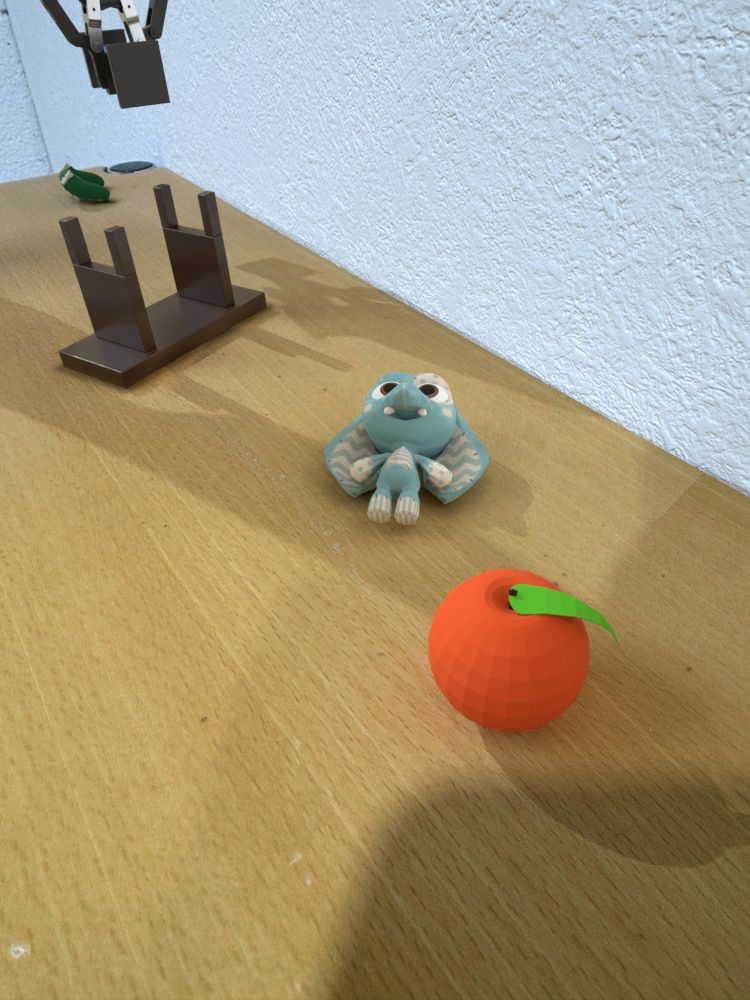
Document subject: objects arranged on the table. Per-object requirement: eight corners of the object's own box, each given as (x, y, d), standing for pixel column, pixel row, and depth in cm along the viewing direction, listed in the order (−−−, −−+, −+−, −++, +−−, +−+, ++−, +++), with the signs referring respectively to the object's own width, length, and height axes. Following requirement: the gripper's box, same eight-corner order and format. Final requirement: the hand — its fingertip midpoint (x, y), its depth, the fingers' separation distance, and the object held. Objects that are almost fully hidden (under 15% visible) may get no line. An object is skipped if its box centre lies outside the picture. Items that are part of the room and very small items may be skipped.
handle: (91, 87, 79) (77, 32, 75) (134, 82, 80) (122, 28, 77) (121, 109, 67) (106, 45, 64) (170, 102, 69) (158, 40, 66)
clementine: (596, 647, 34) (622, 541, 30) (608, 777, 29) (642, 673, 25) (434, 631, 36) (436, 527, 31) (419, 753, 30) (418, 649, 26)
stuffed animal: (290, 465, 38) (333, 332, 46) (309, 543, 44) (345, 412, 51) (488, 479, 36) (498, 337, 44) (482, 558, 42) (492, 420, 49)
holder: (126, 388, 57) (82, 247, 49) (63, 366, 60) (14, 231, 53) (267, 306, 68) (248, 182, 61) (207, 292, 72) (183, 172, 64)
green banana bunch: (92, 200, 106) (54, 175, 102) (105, 179, 105) (67, 153, 101) (99, 217, 99) (58, 191, 95) (113, 194, 98) (72, 167, 94)
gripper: (144, -125, 68) (182, 80, 79) (-9, -123, 63) (54, 95, 74) (164, -132, 63) (201, 88, 74) (-2, -130, 58) (64, 105, 69)
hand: (127, 90), depth 74 cm, fingers closed on handle, 3 cm apart
